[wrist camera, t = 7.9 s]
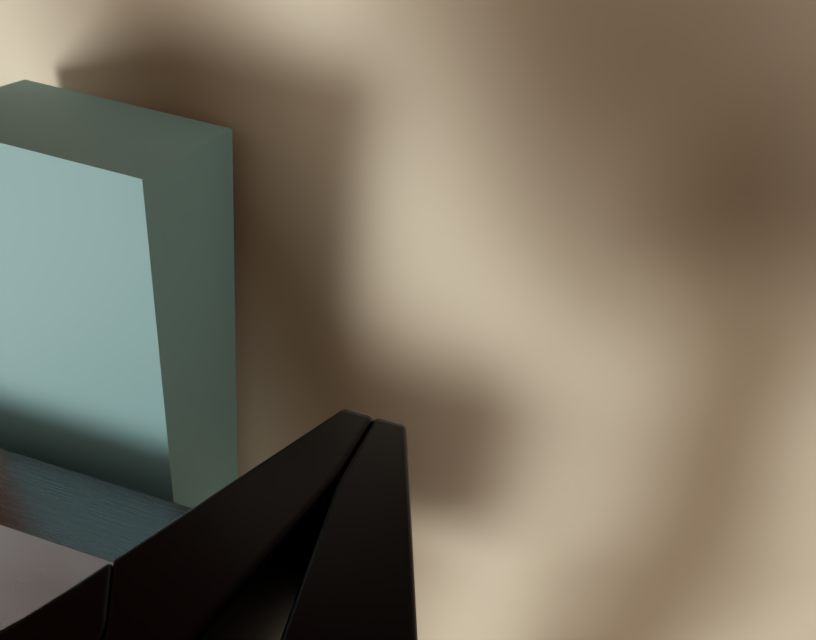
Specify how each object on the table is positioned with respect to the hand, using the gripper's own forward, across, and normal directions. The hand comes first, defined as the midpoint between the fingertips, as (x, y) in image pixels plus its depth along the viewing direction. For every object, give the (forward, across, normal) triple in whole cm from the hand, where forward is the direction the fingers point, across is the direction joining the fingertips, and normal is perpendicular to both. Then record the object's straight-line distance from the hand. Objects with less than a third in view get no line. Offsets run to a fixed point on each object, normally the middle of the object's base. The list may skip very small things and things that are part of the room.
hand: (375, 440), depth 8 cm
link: (+4, +6, +8) cm, 11 cm away
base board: (+5, +2, +6) cm, 9 cm away
